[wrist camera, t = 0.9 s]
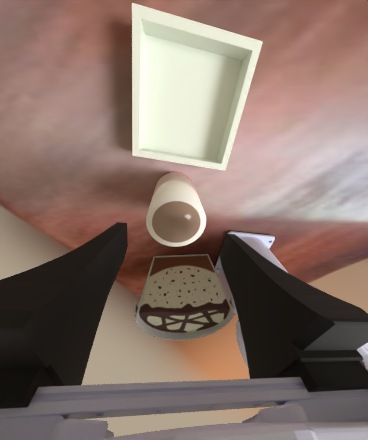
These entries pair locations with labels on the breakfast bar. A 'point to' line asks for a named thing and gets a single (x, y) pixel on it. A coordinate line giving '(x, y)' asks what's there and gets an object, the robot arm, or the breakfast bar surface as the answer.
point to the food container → (183, 299)
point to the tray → (187, 88)
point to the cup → (175, 211)
